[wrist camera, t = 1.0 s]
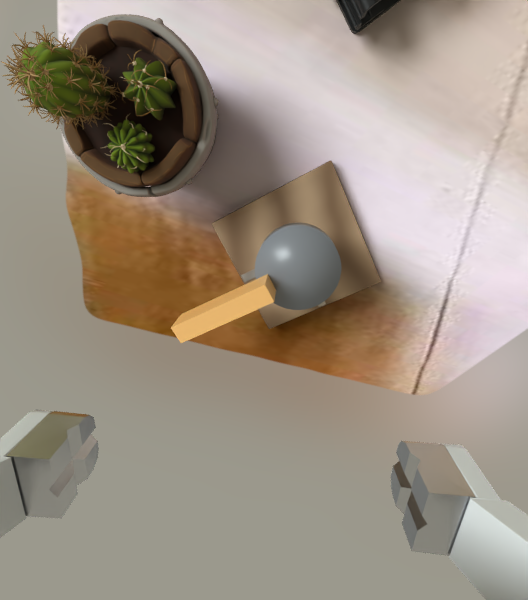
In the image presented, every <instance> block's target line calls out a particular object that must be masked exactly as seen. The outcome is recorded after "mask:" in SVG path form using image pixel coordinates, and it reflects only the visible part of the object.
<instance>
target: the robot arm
mask: <svg viewBox="0 0 528 600" xmlns="http://www.w3.org/2000/svg"><path fill="white" fill-rule="evenodd" d="M95 428H96V427H95V422H94V417H92V416H90V415H86V414H76V413H67V412H57V411H54V412H53V411H45V410H34V411H31V412H29V413H28V414H27V415H26V416H25V417H24V418H22V419H21V420H20V421H19V422H18V423H17V424H16V425H15V426H14V427H13V428H12V429H11V430H9V431H8V432H7V433H6V434H5V435H4V436H3V437H2V438H1V439H0V538H1V537H2V536H3V535H5V534H6V533H7V532H9V531H10V530H11V529H13V528H14V527H15V526H17V525H18V524H19V523H21V522H22V521H23V520H25V519H26V516H31V517H47V518H62V517H63V515H64V514H65V512H66V511H67V509H68V508H69V506H70V505H71V503H72V502H73V500H74V499H75V497H76V495H77V485H79V484H80V483H82V482H83V481H85V480H86V479H88V477H89V475H90V474H91V472H92V471H93V469H94V466H95V464H96V460H97V458H98V441H97V440H96V439H95V438H94V436H93V435H92V434H91V433H92V432H93V430H94V429H95ZM396 453H397V456H398V458H399V462H397V463H396V464H395V465H394V466H393V469H392V474H391V489H392V494H393V498H394V501H395V504H396V507H397V508H398V509H400V510H401V511H402V512H403V513H404V517H403V521H402V525H403V528H404V531H405V533H406V536H407V539H408V542H409V545H410V548H411V551H415V552H423V553H432V554H439V555H448V556H449V558H450V559H451V561H452V562H453V563H454V564H455V565H456V566H457V568H458V569H459V570H460V571H461V572H462V573H463V574H464V575H465V577H466V578H467V579H468V580H469V581H470V582H471V583H472V585H473V586H474V587H475V588H476V589H477V590H478V591H479V593H480V594H481V595H482V596H483V597H484V598H485V599H486V600H528V515H527V514H525V513H524V512H523V511H521V510H520V509H518V508H517V507H515V506H514V505H512V504H511V503H510V502H509V501H504V500H501V499H500V498H499V496H498V495H497V494H496V492H495V491H494V490H493V488H492V486H491V485H490V483H489V482H488V480H487V479H486V477H485V476H484V474H483V473H482V472H481V471H480V469H479V467H478V466H477V464H476V463H475V461H474V460H473V458H472V457H471V455H470V454H469V453H468V451H467V450H466V448H465V447H463V446H462V445H458V444H442V443H441V444H437V443H424V442H410V441H401V442H400V443H399V445H398V448H397V452H396Z"/></svg>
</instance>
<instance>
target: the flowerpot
mask: <svg viewBox="0 0 528 600" xmlns="http://www.w3.org/2000/svg"><path fill="white" fill-rule="evenodd" d="M43 28H44V26H43ZM44 33H45V30H44ZM36 34H38V38H39V34H40V33H38V32H36ZM65 34H66V33H65ZM65 34H64V36H65ZM47 35H48V34H47ZM47 35H46V34H44V36H45V38H44V37H43V36H42V35H41V34H40V36H41V37H42V38H43V39H42V38H41V39H39V42H40V40H43V42H41V43H40V44H39V42H38V44H39V45H37V44H35V45H37V46H36V47H34V46H33V47H28V44H29V43H31V42H29V43H28V44H26V41H25V43H23V42H24V41H23V42H22V41H21V40H20V39H19V40H20V41H21V42H22V44H23V45H24V46H25V44H26V46H25V47H24V46H21V45H14V46H21V47H22V49H24V51H22V50H20V49H19V48H18V49H19V50H17V49H16V50H17V51H18V53H19V52H21V51H22V52H21V53H23V54H22V55H23V56H22V55H21V54H20V53H19V54H20V55H21V56H22V57H21V56H19V55H18V57H17V55H16V54H17V53H16V52H15V51H14V49H13V48H12V49H13V52H14V54H15V56H16V59H13V60H17V61H18V62H17V63H16V62H15V61H13V60H12V59H11V60H12V61H13V62H15V63H16V64H17V66H16V67H17V68H16V67H13V66H11V65H10V64H6V63H5V64H6V65H8V66H7V67H9V66H10V67H9V68H11V69H12V70H10V69H9V68H8V69H9V70H10V72H12V73H14V72H13V71H14V70H15V71H18V72H15V73H14V74H15V75H13V74H9V75H13V76H15V77H13V78H15V79H17V78H18V80H17V81H15V82H13V81H14V80H15V79H13V78H12V79H13V80H12V79H9V80H10V81H12V83H10V84H11V85H12V84H13V86H12V87H14V85H16V84H17V83H20V84H21V85H19V84H18V85H19V86H18V87H17V89H18V88H19V87H20V86H23V88H25V91H26V93H27V94H23V91H22V93H21V94H22V95H25V96H29V97H26V98H24V100H27V99H29V98H30V101H29V102H30V104H31V99H32V100H33V102H34V103H32V105H31V106H25V107H33V108H32V110H33V112H34V109H35V107H36V111H37V113H38V114H39V112H38V109H37V108H39V107H41V108H44V109H46V110H48V113H47V114H48V115H47V116H49V115H50V114H51V115H52V116H53V118H55V117H56V118H55V119H56V120H57V119H58V121H57V124H58V125H60V129H61V131H62V134H63V136H64V138H65V140H66V142H67V144H68V146H69V147H70V149H71V151H72V152H73V154H74V155H75V157H76V158H77V159H78V161H79V162H80V163H81V164H82V165H83V166H84V168H85V169H86V170H87V171H88V172H89V173H90V174H91V175H93V176H94V177H95V178H96V179H97V180H99V181H100V182H101V183H103V184H104V185H106V186H107V187H109V188H111V189H113V190H115V192H116V193H117V194H121V193H123V194H126V195H130V196H136V197H157V196H163V195H166V194H169V193H172V192H174V191H177V190H179V189H180V188H182V187H183V186H184V185H185V184H191V183H192V178H193V177H194V176H195V175H196V174H197V173H198V172H199V171H200V170H201V167H202V165H203V164H204V163H205V162H206V160H207V158H208V156H209V154H210V152H211V150H212V147H213V144H214V141H215V136H216V129H217V119H218V114H217V110H216V106H217V105H218V100H217V99H216V98H215V97H214V93H213V90H212V87H211V85H210V82H209V80H208V78H207V76H206V74H205V71H204V70H203V68H202V66H201V64H200V62H199V61H198V59H197V58H196V56H195V55H194V53H193V52H192V51H191V50H190V48H189V47H188V46H187V45H186V44H185V43H184V42H183V41H182V40H181V39H180V38H179V37H178V36H177V35H176V34H175V33H174V32H173V31H172V30H170V29H169V28H168V27H166V26H165V25H164V24H163V21H162V19H160V18H158V19H156V20H155V21H154V20H152V19H150V18H147V17H143V16H139V15H126V14H124V15H112V16H108V17H104V18H101V19H98V20H96V21H94V22H92V23H90V24H88V25H87V26H85V27H84V28H83V29H82V30H81V31H80V32H79V33H78V34H77V35H76V37H75V38H74V39H73V41H72V42H70V43H67V40H68V38H67V40H65V39H64V36H63V40H65V42H63V44H61V42H60V41H58V40H57V39H56V41H58V42H59V43H60V44H59V45H56V46H55V45H53V44H51V43H52V40H53V38H54V37H53V38H52V40H51V38H50V40H48V39H49V36H50V35H51V34H50V35H49V36H48V39H47ZM16 36H17V35H16ZM24 37H25V35H24ZM36 37H37V36H36ZM18 38H19V37H18ZM24 40H25V38H24ZM37 41H38V40H37ZM49 41H51V43H50V42H49ZM66 43H67V44H66ZM32 44H34V43H32ZM68 44H70V45H68ZM60 45H62V46H61V47H58V46H60ZM65 45H66V46H67V45H68V46H67V47H66V46H65ZM12 46H13V45H12ZM15 48H16V47H15ZM66 48H67V49H66ZM19 57H21V58H19ZM9 58H10V57H9ZM8 62H9V61H8ZM2 63H4V62H2ZM9 63H10V62H9ZM11 64H12V63H11ZM13 65H14V64H13ZM14 66H15V65H14ZM12 67H13V68H12ZM19 68H20V69H19ZM9 75H3V76H9ZM20 81H21V82H20ZM10 84H9V85H10ZM12 87H11V88H12ZM17 89H16V90H15V92H16V91H17ZM21 89H22V87H21ZM21 100H23V99H21ZM32 110H31V111H32ZM31 111H30V113H31ZM30 113H29V114H30ZM42 114H43V113H42ZM45 114H46V113H45ZM53 114H54V115H53ZM47 116H46V117H47ZM44 118H45V117H44ZM50 118H51V116H50ZM55 119H54V120H55ZM48 120H49V119H48ZM48 120H47V121H48ZM56 120H55V121H56ZM47 121H46V122H47ZM52 121H53V120H52ZM55 121H54V122H55ZM54 122H52V123H54ZM57 128H58V127H57ZM145 186H151V187H145Z"/></svg>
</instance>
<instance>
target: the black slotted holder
mask: <svg viewBox="0 0 528 600" xmlns="http://www.w3.org/2000/svg"><path fill="white" fill-rule="evenodd" d="M399 1H401V0H337V3H338V5H339V7H340V9H341V11H342V13H343V15H344V17H345V20H346V22H347V24H348V26H349V28H350V30H351V32H352V33H355V34H356V33H358V32H360V31H361V30H362V29H364V28H365V27H366V26H368V25H369V24H370V23H372V22H373V21H374V20H376V19H377V18H378V17H380V16H381V15H382V14H383V13H385V12H386V11H387V10H389V9H390V8H391V7H393V6H394V5H395V4H397V3H398V2H399Z"/></svg>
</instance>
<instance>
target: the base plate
mask: <svg viewBox="0 0 528 600" xmlns="http://www.w3.org/2000/svg"><path fill="white" fill-rule="evenodd" d="M289 223H307V224H311V225H314V226H316V227H318V228H320V229H321V230H323V231H324V232H325V233H326V234H327V235H328V236H329V237H330V238H331V240H332V241H333V243H334V245H335V247H336V249H337V251H338V253H339V256H340V260H341V276H340V280H339V283H338V285H337V287H336V289H335V290H334V292H333V293H332V294H331V296H330V297H329V298H328V299H326V300H325V301H324V302H322V303H321V304H319V305H317V306H315V307H312V308H309V309H305V310H291V309H286V308H283V307H280V306H278V305H276V304H274V303H271V304H269V305H266V306H264V307H262V308H260V309H258V310H259V312H260V313H261V315H262V317H263V319H264V321H265V323H266V324H267V326H268V328H269V329H270V328H273V327H275V326H278V325H280V324H282V323H285V322H287V321H289V320H292V319H294V318H296V317H299V316H301V315H304V314H306V313H308V312H311V311H313V310H315V309H318V308H320V307H323V306H325V305H327V304H330V303H332V302H334V301H337V300H339V299H341V298H344V297H346V296H349V295H351V294H353V293H356V292H358V291H360V290H363V289H365V288H368V287H370V286H372V285H375V284H377V283H379V282H381V280H380V277H379V275H378V273H377V270H376V268H375V265H374V263H373V260H372V258H371V256H370V253H369V251H368V248H367V246H366V243H365V241H364V239H363V236H362V234H361V231H360V229H359V226H358V224H357V222H356V219H355V217H354V214H353V212H352V209H351V207H350V205H349V202H348V200H347V197H346V195H345V192H344V190H343V188H342V185H341V183H340V180H339V178H338V176H337V173H336V171H335V168H334V166H333V163H332V161H329V162H327V163H325V164H323V165H321V166H319V167H317V168H316V169H314V170H312V171H310V172H308V173H306V174H304V175H302V176H300V177H299V178H297V179H295V180H293V181H291V182H289V183H287V184H285V185H283V186H282V187H280V188H278V189H276V190H274V191H272V192H270V193H268V194H266V195H264V196H263V197H261V198H259V199H257V200H255V201H253V202H251V203H249V204H247V205H246V206H244V207H242V208H240V209H238V210H236V211H234V212H232V213H230V214H229V215H227V216H225V217H223V218H221V219H219V220H217V221H215V222H214V223H212V226H213V228H214V229H215V231H216V233H217V235H218V237H219V239H220V240H221V242H222V244H223V246H224V248H225V250H226V251H227V253H228V255H229V257H230V259H231V260H232V262H233V264H234V266H235V268H236V270H237V271H238V273H239V275H240V277H241V279H242V281H243V282H244V284H247V283H249V282H252V281H254V280H256V276H255V261H256V257H257V255H258V252H259V250H260V247H261V245H262V243H263V242H264V240H265V239H266V237H267V236H268V235H269V234H270V233H271V232H273V231H274V230H275V229H277V228H279V227H280V226H283V225H285V224H289Z"/></svg>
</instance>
